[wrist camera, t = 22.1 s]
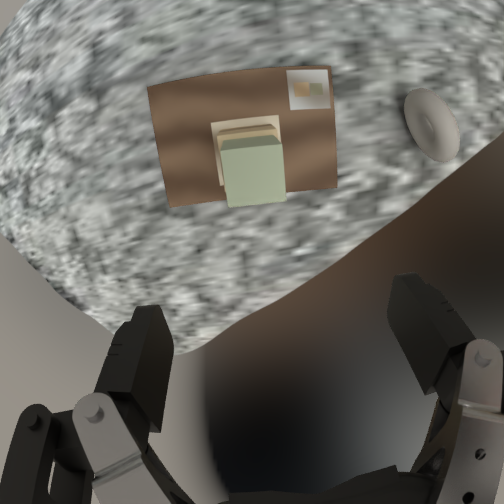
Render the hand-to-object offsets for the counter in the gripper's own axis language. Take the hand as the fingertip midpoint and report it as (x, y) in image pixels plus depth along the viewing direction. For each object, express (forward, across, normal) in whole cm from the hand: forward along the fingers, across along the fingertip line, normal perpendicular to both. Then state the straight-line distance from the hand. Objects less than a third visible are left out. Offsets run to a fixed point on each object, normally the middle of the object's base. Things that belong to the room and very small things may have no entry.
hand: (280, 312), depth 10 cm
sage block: (+23, 0, 0) cm, 23 cm away
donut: (+30, -23, -3) cm, 38 cm away
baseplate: (+30, 0, -2) cm, 30 cm away
